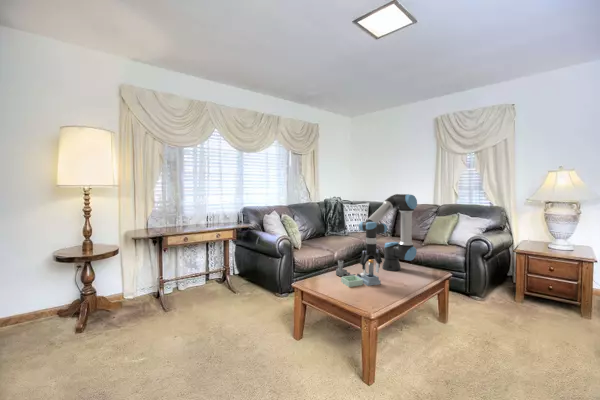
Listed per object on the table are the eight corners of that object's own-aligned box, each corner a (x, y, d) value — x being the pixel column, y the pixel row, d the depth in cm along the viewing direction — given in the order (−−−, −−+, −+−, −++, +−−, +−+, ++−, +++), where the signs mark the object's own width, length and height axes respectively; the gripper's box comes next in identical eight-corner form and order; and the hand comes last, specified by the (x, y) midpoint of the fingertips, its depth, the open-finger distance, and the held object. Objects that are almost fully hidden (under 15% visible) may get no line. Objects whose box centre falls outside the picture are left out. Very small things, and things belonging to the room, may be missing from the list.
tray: (354, 280, 222) (354, 275, 222) (362, 285, 211) (362, 279, 211) (341, 281, 218) (341, 277, 218) (348, 287, 207) (348, 281, 207)
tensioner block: (355, 278, 225) (355, 271, 225) (367, 277, 229) (367, 270, 229) (367, 285, 209) (367, 278, 209) (380, 284, 213) (380, 276, 213)
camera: (340, 259, 240) (355, 262, 229) (340, 273, 240) (355, 277, 229) (333, 261, 234) (349, 265, 223) (333, 275, 234) (348, 280, 224)
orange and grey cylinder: (371, 278, 217) (371, 259, 216) (374, 280, 214) (374, 260, 213) (367, 279, 216) (367, 259, 215) (370, 280, 212) (370, 260, 212)
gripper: (381, 241, 221) (381, 270, 222) (354, 243, 213) (354, 273, 214) (387, 242, 213) (387, 272, 215) (360, 245, 206) (360, 276, 207)
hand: (371, 272), depth 214 cm, fingers open, 10 cm apart
